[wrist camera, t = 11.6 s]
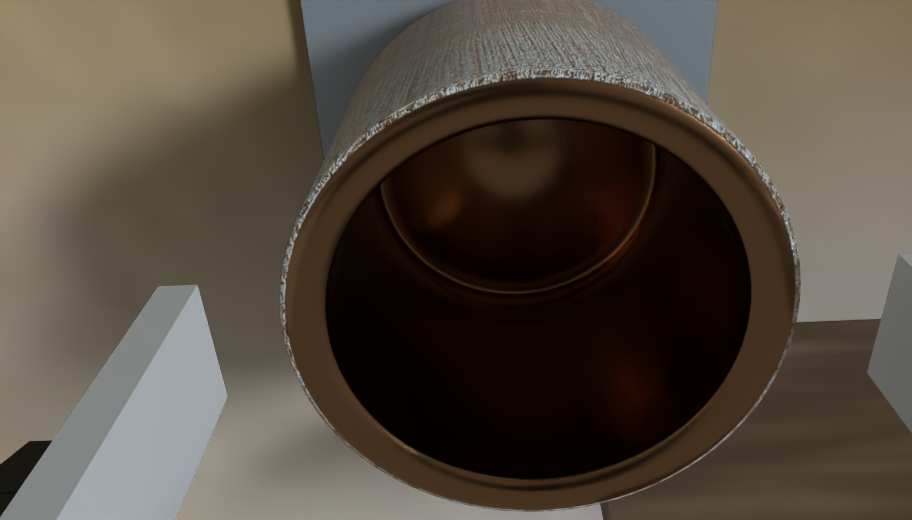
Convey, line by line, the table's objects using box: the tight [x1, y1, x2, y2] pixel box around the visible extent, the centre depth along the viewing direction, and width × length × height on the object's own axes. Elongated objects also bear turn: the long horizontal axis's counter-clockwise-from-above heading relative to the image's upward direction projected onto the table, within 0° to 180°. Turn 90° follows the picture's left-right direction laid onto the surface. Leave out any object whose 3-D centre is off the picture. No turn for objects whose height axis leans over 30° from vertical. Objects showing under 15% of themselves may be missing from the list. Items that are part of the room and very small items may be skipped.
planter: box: [280, 0, 801, 512], centre depth 20 cm, size 11×11×10 cm
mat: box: [301, 0, 718, 160], centre depth 24 cm, size 12×12×1 cm
